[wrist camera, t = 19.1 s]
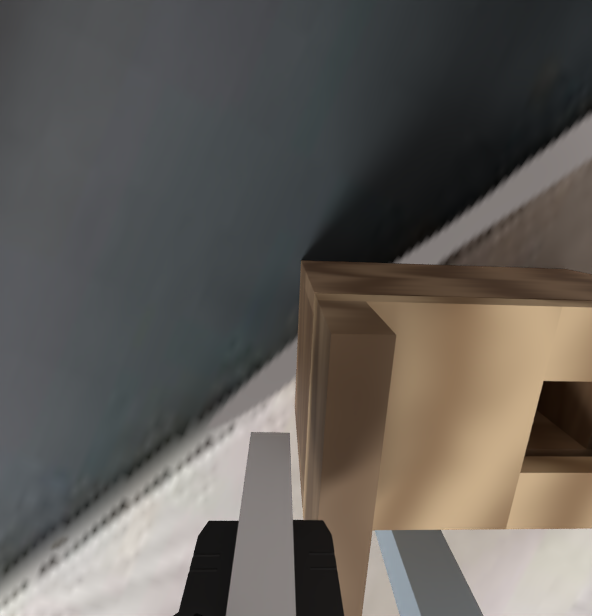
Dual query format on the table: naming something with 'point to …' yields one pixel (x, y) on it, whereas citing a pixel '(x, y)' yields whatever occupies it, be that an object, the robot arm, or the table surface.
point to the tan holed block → (438, 419)
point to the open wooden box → (456, 283)
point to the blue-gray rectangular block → (425, 574)
